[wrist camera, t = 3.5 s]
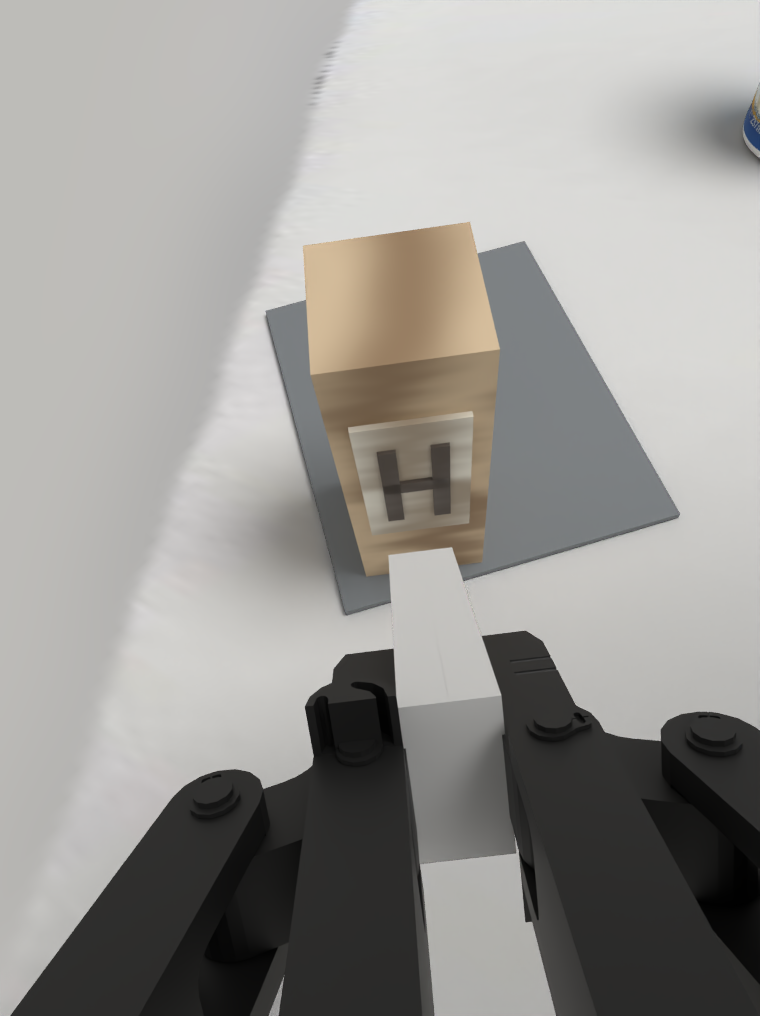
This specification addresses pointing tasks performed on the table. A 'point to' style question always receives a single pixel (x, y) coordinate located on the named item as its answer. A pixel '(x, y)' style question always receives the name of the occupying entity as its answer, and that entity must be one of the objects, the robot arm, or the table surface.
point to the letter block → (406, 386)
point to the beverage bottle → (753, 125)
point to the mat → (504, 438)
